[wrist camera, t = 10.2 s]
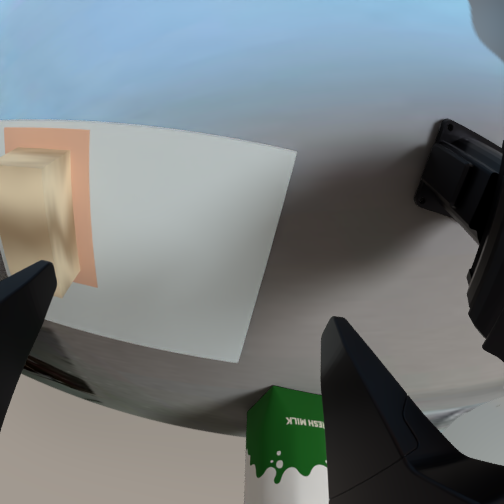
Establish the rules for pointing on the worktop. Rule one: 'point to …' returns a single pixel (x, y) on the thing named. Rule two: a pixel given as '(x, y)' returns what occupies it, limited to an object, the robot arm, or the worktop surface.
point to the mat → (164, 230)
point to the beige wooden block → (38, 212)
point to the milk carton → (286, 449)
